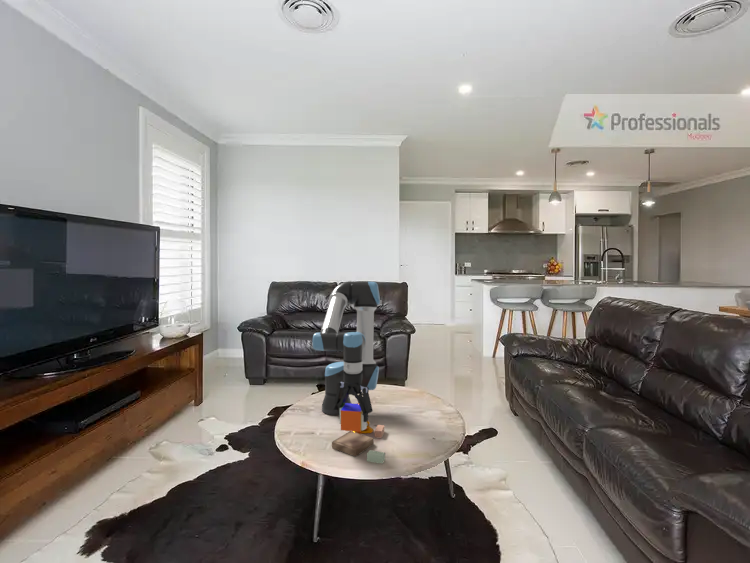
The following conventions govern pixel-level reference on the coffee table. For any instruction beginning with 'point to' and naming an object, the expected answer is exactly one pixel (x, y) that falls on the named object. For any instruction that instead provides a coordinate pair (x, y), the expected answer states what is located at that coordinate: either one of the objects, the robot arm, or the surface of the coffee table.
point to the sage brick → (375, 456)
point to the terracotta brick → (379, 431)
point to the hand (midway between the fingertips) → (352, 426)
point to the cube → (351, 417)
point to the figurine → (367, 430)
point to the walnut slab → (352, 443)
